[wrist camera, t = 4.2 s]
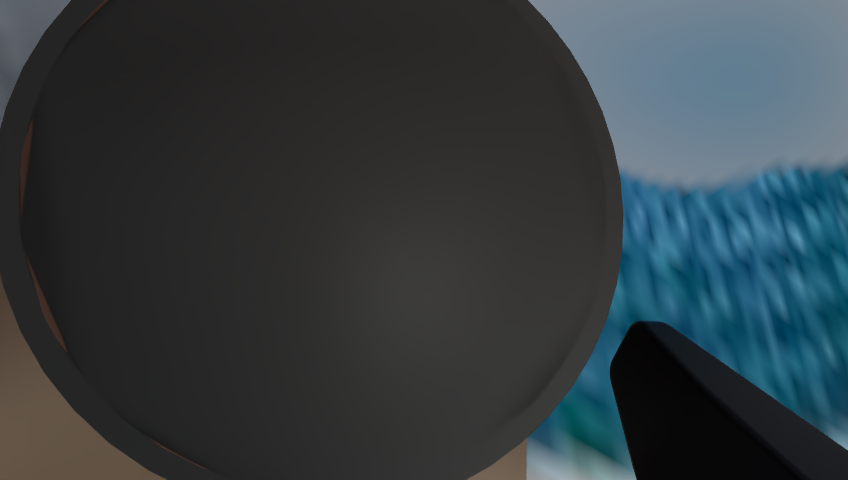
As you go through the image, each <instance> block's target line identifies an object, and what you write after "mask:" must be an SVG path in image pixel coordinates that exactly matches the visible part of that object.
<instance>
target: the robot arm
mask: <svg viewBox="0 0 848 480" xmlns="http://www.w3.org/2000/svg"><path fill="white" fill-rule="evenodd" d="M610 380H611V384H612V388H613V392H614V396H615V400H616V403H617V407H618V411H619V415H620V419H621V423H622V427H623V431H624V434H625V438H626V442H627V446H628V450H629V454H630V458H631V461H632V465H633V469H634V472H635V476H636V479H637V480H848V450H846V449H845V448H843V447H842V446H841V445H839V444H838V443H836V442H835V441H833V440H832V439H831V438H829V437H828V436H826V435H825V434H824V433H822V432H821V431H819V430H818V429H816V428H815V427H814V426H812V425H811V424H809V423H808V422H806V421H805V420H804V419H802V418H801V417H799V416H798V415H796V414H795V413H794V412H792V411H791V410H789V409H788V408H786V407H785V406H784V405H782V404H781V403H779V402H778V401H777V400H775V399H774V398H772V397H771V396H769V395H768V394H767V393H765V392H764V391H762V390H761V389H759V388H758V387H757V386H755V385H754V384H752V383H751V382H749V381H748V380H747V379H745V378H744V377H742V376H741V375H739V374H738V373H737V372H735V371H734V370H732V369H731V368H729V367H728V366H727V365H725V364H724V363H722V362H721V361H720V360H718V359H717V358H715V357H714V356H712V355H711V354H710V353H708V352H707V351H705V350H704V349H702V348H701V347H700V346H698V345H697V344H695V343H694V342H692V341H691V340H690V339H688V338H687V337H685V336H684V335H682V334H681V333H680V332H678V331H677V330H675V329H674V328H673V327H671V326H670V325H668V324H666V323H664V322H658V321H636V322H635V323H633V324H632V325H631V326H630V327H629V329H628V331H627V333H626V335H625V337H624V339H623V340H622V342H621V344H620V346H619V348H618V350H617V352H616V354H615V356H614V357H613V359H612V362H611V366H610Z"/></svg>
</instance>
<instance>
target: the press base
mask: <svg viewBox="0 0 848 480" xmlns="http://www.w3.org/2000/svg"><path fill="white" fill-rule="evenodd" d="M0 480H167V479H165V478H163V477H161V476H159V475H157V474H155V473H152V472H150V471H148V470H147V469H146V468H144V467H143V466H141V465H140V464H138V463H137V462H136V461H134V460H133V459H131V458H130V457H128V456H127V455H125V454H124V453H123V452H121V451H120V450H118V449H117V448H115V447H114V446H112V445H111V444H110V443H108V442H107V441H106V440H105V439H104V438H103V437H102V436H101V435H100V434H99V433H98V432H97V431H96V430H94V429H93V428H92V427H91V426H90V425H89V424H88V423H87V422H86V421H85V420H84V419H83V418H82V417H81V416H80V415H78V414H77V413H76V412H75V411H74V410H73V409H72V407H71V406H70V405H69V403H68V402H67V401H66V400H65V398H64V397H63V396H62V395H61V393H60V392H59V391H58V390H57V388H56V387H55V386H54V385H53V383H52V382H51V381H50V379H49V378H48V377H47V376H46V374H45V373H44V372H43V370H42V368H41V366H40V365H39V363H38V361H37V359H36V358H35V356H34V354H33V352H32V351H31V349H30V347H29V345H28V344H27V342H26V340H25V339H24V337H23V335H22V333H21V332H20V329H19V327H18V324H17V321H16V319H15V316H14V314H13V311H12V308H11V306H10V303H9V301H8V298H7V295H6V293H5V290H4V288H3V283H2V279H1V274H0ZM467 480H526V439H525V440H524V441H523V442H522V443H521V444H519V445H518V446H517V447H515V448H514V449H513V450H511V451H510V452H509V453H507V454H506V455H505V456H503V457H502V458H501V459H499V460H498V461H497V462H495V463H494V464H493V465H491V466H490V467H488V468H486V469H485V470H483V471H481V472H479V473H478V474H476V475H474V476H472V477H470V478H469V479H467Z"/></svg>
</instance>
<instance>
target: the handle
mask: <svg viewBox="0 0 848 480" xmlns="http://www.w3.org/2000/svg"><path fill="white" fill-rule="evenodd" d="M622 237H623V205H622V194H621V182H620V175H619V170H618V166H617V161H616V156H615V151H614V147H613V143H612V140H611V136H610V133H609V131H608V128H607V124H606V121H605V118H604V116H603V112H602V110H601V108H600V106H599V103H598V101H597V99H596V97H595V95H594V93H593V90H592V88H591V86H590V84H589V82H588V80H587V78H586V76H585V75H584V73H583V71H582V70H581V68H580V66H579V65H578V63H577V61H576V60H575V58H574V56H573V55H572V53H571V51H570V50H569V49H568V47H567V46H566V45H565V43H564V42H563V41H562V39H561V38H560V37H559V35H558V34H557V33H556V31H555V30H554V29H553V27H552V26H551V25H550V24H549V22H548V21H547V20H546V19H545V18H544V17H543V16H542V15H541V14H540V13H539V12H538V11H537V10H536V9H535V7H534V6H533V5H532V4H531V3H530V2H529V1H528V0H71V1H70V2H69V4H68V5H67V6H66V7H65V8H64V10H63V11H62V12H61V13H60V14H59V15H58V17H57V18H56V19H55V20H54V21H53V23H52V24H51V25H50V26H49V27H48V29H47V30H46V31H45V33H44V34H43V36H42V37H41V39H40V41H39V42H38V44H37V46H36V47H35V49H34V50H33V52H32V54H31V55H30V57H29V59H28V60H27V62H26V64H25V65H24V67H23V69H22V71H21V73H20V76H19V78H18V80H17V83H16V85H15V88H14V90H13V92H12V95H11V97H10V99H9V102H8V104H7V106H6V109H5V113H4V117H3V121H2V125H1V129H0V274H1V279H2V283H3V288H4V290H5V293H6V295H7V298H8V301H9V303H10V306H11V308H12V311H13V314H14V316H15V319H16V321H17V324H18V327H19V329H20V332H21V333H22V335H23V337H24V339H25V340H26V342H27V344H28V345H29V347H30V349H31V351H32V352H33V354H34V356H35V358H36V359H37V361H38V363H39V365H40V366H41V368H42V370H43V372H44V373H45V374H46V376H47V377H48V378H49V379H50V381H51V382H52V383H53V385H54V386H55V387H56V388H57V390H58V391H59V392H60V393H61V395H62V396H63V397H64V398H65V400H66V401H67V402H68V403H69V405H70V406H71V407H72V409H73V410H74V411H75V412H76V413H77V414H78V415H80V416H81V417H82V418H83V419H84V420H85V421H86V422H87V423H88V424H89V425H90V426H91V427H92V428H93V429H94V430H96V431H97V432H98V433H99V434H100V435H101V436H102V437H103V438H104V439H105V440H106V441H107V442H108V443H110V444H111V445H112V446H114V447H115V448H117V449H118V450H120V451H121V452H123V453H124V454H125V455H127V456H128V457H130V458H131V459H133V460H134V461H136V462H137V463H138V464H140V465H141V466H143V467H144V468H146V469H147V470H148V471H150V472H152V473H155V474H157V475H159V476H161V477H163V478H165V479H167V480H467V479H469V478H470V477H472V476H474V475H476V474H478V473H479V472H481V471H483V470H485V469H486V468H488V467H490V466H491V465H493V464H494V463H495V462H497V461H498V460H499V459H501V458H502V457H503V456H505V455H506V454H507V453H509V452H510V451H511V450H513V449H514V448H515V447H517V446H518V445H519V444H521V443H522V442H523V441H524V440H525V439H526V438H527V437H528V436H529V435H530V434H531V433H532V432H533V431H534V430H535V429H536V428H537V427H538V426H539V425H540V424H541V423H542V422H543V421H544V420H545V419H546V418H547V417H548V416H549V415H550V414H551V413H552V412H553V410H554V409H555V408H556V407H557V405H558V404H559V403H560V401H561V400H562V399H563V398H564V396H565V395H566V394H567V392H568V391H569V390H570V389H571V387H572V386H573V385H574V383H575V381H576V380H577V378H578V376H579V375H580V373H581V371H582V369H583V368H584V366H585V364H586V363H587V361H588V359H589V358H590V356H591V354H592V352H593V350H594V348H595V345H596V343H597V341H598V338H599V336H600V334H601V331H602V329H603V327H604V324H605V322H606V320H607V316H608V313H609V309H610V306H611V302H612V299H613V295H614V292H615V288H616V285H617V279H618V272H619V266H620V259H621V253H622Z"/></svg>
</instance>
